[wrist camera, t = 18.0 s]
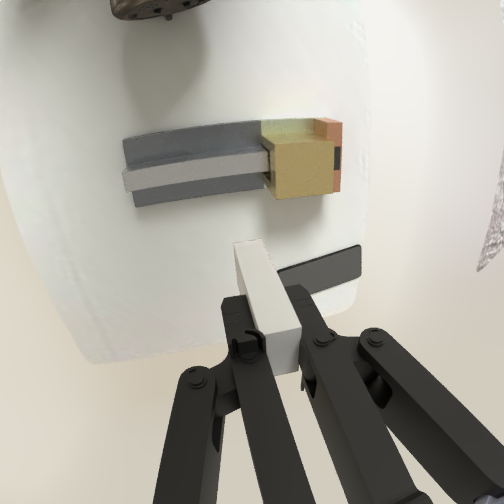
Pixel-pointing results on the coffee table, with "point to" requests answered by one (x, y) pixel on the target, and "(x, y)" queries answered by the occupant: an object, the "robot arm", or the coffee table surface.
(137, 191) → the rail
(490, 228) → the coffee table surface
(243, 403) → the robot arm
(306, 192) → the clip
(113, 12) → the alarm clock
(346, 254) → the smartphone
